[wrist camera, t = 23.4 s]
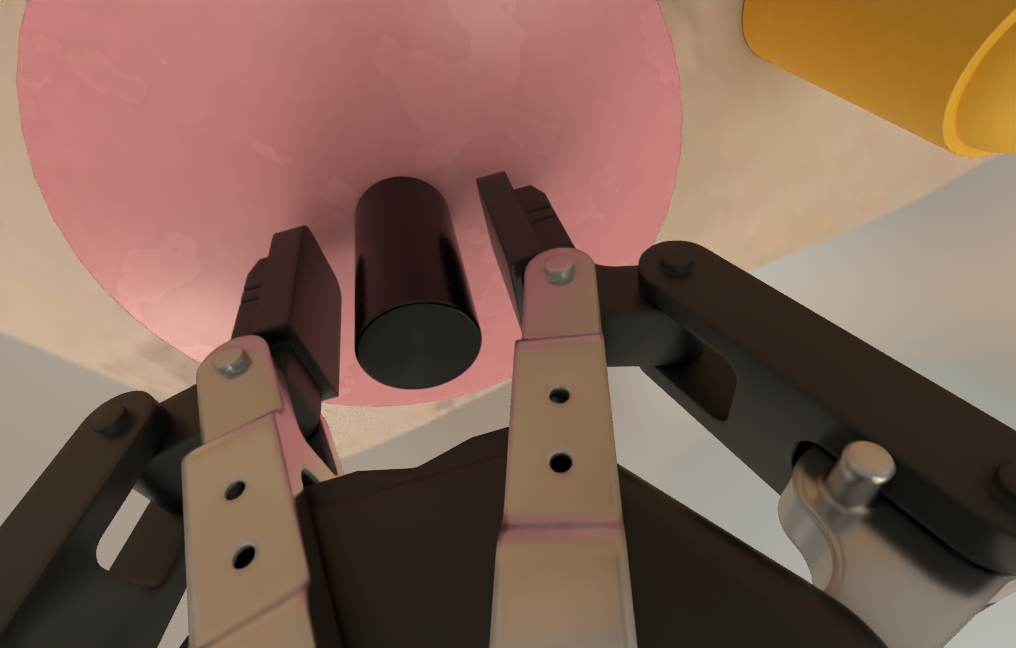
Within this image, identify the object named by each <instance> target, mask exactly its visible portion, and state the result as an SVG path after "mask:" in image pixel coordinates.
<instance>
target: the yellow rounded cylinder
mask: <svg viewBox="0 0 1016 648" xmlns="http://www.w3.org/2000/svg"><path fill="white" fill-rule="evenodd" d="M742 24H743V32H744V36H745V39H746V42H747V44H748V46H749V47H750V49H751V50H752V51H753V52H754V53H755V54H756V55H758V56H759V57H761V58H763V59H765V60H767V61H769V62H771V63H773V64H775V65H777V66H779V67H781V68H783V69H785V70H787V71H789V72H791V73H793V74H795V75H797V76H799V77H801V78H803V79H805V80H807V81H809V82H811V83H813V84H815V85H817V86H819V87H821V88H823V89H825V90H827V91H829V92H831V93H833V94H835V95H837V96H839V97H841V98H843V99H845V100H847V101H849V102H851V103H853V104H855V105H857V106H859V107H861V108H863V109H865V110H867V111H869V112H871V113H873V114H875V115H877V116H879V117H881V118H883V119H885V120H887V121H889V122H891V123H893V124H895V125H897V126H899V127H901V128H903V129H905V130H907V131H909V132H911V133H913V134H915V135H917V136H919V137H921V138H923V139H925V140H927V141H929V142H931V143H933V144H935V145H937V146H939V147H941V148H943V149H945V150H947V151H949V152H951V153H953V154H956V155H958V156H961V157H968V158H973V157H983V156H988V155H992V154H995V153H997V154H1016V0H745V3H744V8H743V18H742Z"/></svg>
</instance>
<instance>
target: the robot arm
mask: <svg viewBox="0 0 1016 648" xmlns="http://www.w3.org/2000/svg"><path fill="white" fill-rule="evenodd" d="M476 184H477V188H478V192H479V196H480V201H481V205H482V209H483V213H484V217H485V221H486V225H487V229H488V233H489V237H490V241H491V245H492V248H493V251H494V254H495V257H496V260H497V263H498V266H499V269H500V272H501V275H502V277H503V280H504V283H505V286H506V289H507V292H508V295H509V297H510V300H511V303H512V306H513V309H514V312H515V315H516V317H517V320H518V323H519V326H520V329H521V332H522V337H521V339H517V340H516V341H515V346H514V358H513V374H512V391H511V392H512V393H511V406H510V423H509V427H506V428H503V429H499V430H496V431H493V432H489V433H486V434H482V435H479V436H476V437H472V438H470V439H468V440H466V441H465V442H463V443H461V444H459V445H457V446H456V447H454V448H452V449H450V450H449V451H446V452H445V453H443V454H441V455H439V456H437V457H436V458H434V459H432V460H430V461H428V462H426V463H425V464H423V465H421V466H419V467H415V468H408V469H389V470H371V471H356V472H353V473H350V474H346V475H344V472H343V469H342V466H341V463H340V460H339V456H338V453H337V450H336V447H335V444H334V441H333V438H332V435H331V432H330V429H329V426H328V423H327V421H326V420H325V418H324V417H323V416H322V414H321V401H324V400H328V399H331V398H335V397H338V396H339V375H340V342H341V309H342V295H341V290H340V286H339V283H338V280H337V278H336V276H335V274H334V272H333V270H332V268H331V266H330V264H329V263H328V261H327V259H326V257H325V255H324V253H323V252H322V250H321V248H320V246H319V244H318V242H317V240H316V239H315V237H314V235H313V233H312V232H311V230H310V229H309V228H308V227H307V226H306V225H303V226H299V227H296V228H292V229H288V230H285V231H281V232H277V233H274V234H273V237H272V241H271V246H270V250H269V255H268V257H266V258H262V259H259V260H258V262H257V263H256V264H255V265H254V267H253V268H252V269H251V271H250V272H249V273H248V274H247V278H246V282H245V286H244V289H243V290H244V292H243V293H242V297H241V301H240V302H241V305H239V309H238V313H237V317H236V320H235V324H234V328H233V332H232V336H231V340H229V341H227V342H225V343H223V344H222V345H220V346H219V347H217V348H216V349H214V350H213V351H212V352H211V353H210V354H209V355H208V356H207V357H206V358H205V359H204V360H203V362H202V363H201V364H200V366H199V368H198V371H197V374H196V383H197V384H195V385H193V386H192V387H190V388H188V389H186V390H184V391H182V392H180V393H178V394H176V395H174V396H172V397H171V398H169V399H167V400H165V401H163V402H161V403H159V402H158V401H157V400H155V399H154V398H153V397H152V396H151V395H150V394H148V393H147V392H144V391H131V392H127V393H124V394H121V395H118V396H116V397H114V398H112V399H110V400H109V401H107V402H105V403H104V404H102V405H101V406H99V407H98V408H97V409H96V410H94V411H93V412H92V413H91V414H90V415H89V416H88V417H87V418H86V419H85V420H84V421H83V422H82V424H81V425H80V426H79V427H78V429H77V430H76V431H75V432H74V434H73V435H72V436H71V438H70V439H69V440H68V442H67V443H66V444H65V445H64V447H63V448H62V449H61V450H60V452H59V453H58V454H57V455H56V457H55V458H54V459H53V461H52V462H51V463H50V464H49V466H48V467H47V468H46V469H45V471H44V472H43V473H42V474H41V476H40V477H39V478H38V480H37V481H36V482H35V483H34V485H33V486H32V487H31V488H30V490H29V491H28V492H27V493H26V495H25V496H24V497H23V499H22V500H21V501H20V502H19V504H18V505H17V506H16V507H15V509H14V510H13V511H12V512H11V514H10V515H9V516H8V518H7V519H6V520H5V521H4V523H3V524H2V525H1V527H0V648H157V647H158V645H159V643H160V641H161V639H162V636H163V634H164V632H165V630H166V628H167V626H168V624H169V622H170V620H171V618H172V616H173V614H174V612H175V610H176V608H177V606H178V604H179V602H180V600H181V598H182V596H183V594H184V592H185V589H186V587H187V605H188V628H189V635H188V636H187V638H186V639H185V640H184V642H183V643H182V645H181V646H180V647H179V648H943V647H944V646H945V645H946V644H947V643H948V642H949V641H950V640H951V639H952V638H953V637H954V636H955V635H956V634H957V633H958V632H959V631H960V630H961V629H962V628H963V627H964V626H965V625H966V624H967V623H968V621H970V620H971V619H972V618H973V617H974V616H975V615H976V614H977V613H979V612H981V611H983V610H984V609H986V608H987V607H989V606H991V605H993V604H994V603H996V602H998V601H999V600H1001V599H1003V598H1004V597H1006V596H1008V595H1010V594H1011V593H1013V592H1015V591H1016V431H1015V430H1014V429H1012V428H1010V427H1008V426H1007V425H1005V424H1003V423H1002V422H1000V421H998V420H997V419H995V418H993V417H991V416H990V415H988V414H986V413H985V412H983V411H981V410H980V409H978V408H976V407H975V406H973V405H971V404H969V403H968V402H966V401H964V400H963V399H961V398H959V397H957V396H956V395H954V394H952V393H951V392H949V391H947V390H946V389H944V388H942V387H941V386H939V385H937V384H935V383H934V382H932V381H930V380H929V379H927V378H925V377H923V376H922V375H920V374H918V373H917V372H915V371H913V370H912V369H910V368H908V367H906V366H905V365H903V364H902V363H900V362H898V361H896V360H895V359H893V358H891V357H890V356H888V355H886V354H884V353H883V352H881V351H879V350H878V349H876V348H874V347H873V346H871V345H869V344H867V343H866V342H864V341H862V340H861V339H859V338H857V337H856V336H854V335H852V334H851V333H849V332H847V331H845V330H844V329H842V328H840V327H839V326H837V325H835V324H834V323H832V322H830V321H828V320H827V319H825V318H823V317H822V316H820V315H818V314H816V313H815V312H813V311H811V310H810V309H808V308H806V307H805V306H803V305H801V304H799V303H798V302H796V301H794V300H793V299H791V298H789V297H788V296H786V295H784V294H783V293H781V292H779V291H777V290H776V289H774V288H772V287H771V286H769V285H767V284H766V283H764V282H762V281H760V280H759V279H757V278H755V277H754V276H752V275H750V274H749V273H747V272H745V271H744V270H742V269H740V268H738V267H737V266H735V265H733V264H732V263H730V262H728V261H727V260H725V259H723V258H721V257H720V256H718V255H716V254H715V253H713V252H711V251H710V250H708V249H706V248H704V247H702V246H700V245H698V244H695V243H692V242H687V241H666V242H661V243H658V244H655V245H653V246H651V247H650V248H648V249H647V250H645V251H644V252H643V253H642V255H641V256H640V259H639V263H638V265H633V266H603V265H598V264H595V263H594V261H593V259H592V258H591V257H590V256H589V255H588V254H587V253H585V252H583V251H581V250H578V249H576V248H575V246H574V244H573V243H572V241H571V239H570V237H569V235H568V234H567V232H566V230H565V228H564V227H563V225H562V223H561V221H560V219H559V218H558V217H557V214H556V212H555V211H554V209H553V207H552V206H551V203H550V202H549V200H548V198H547V196H546V195H545V193H544V192H542V191H540V190H539V189H537V188H535V187H533V186H532V185H528V186H524V187H521V188H517V189H513V187H512V185H511V183H510V181H509V179H508V176H507V174H506V172H505V171H501V172H498V173H494V174H490V175H487V176H483V177H479V178H476ZM617 366H639V367H640V368H641V370H642V371H643V372H644V373H645V374H646V375H647V376H649V377H650V378H651V379H652V380H653V381H654V382H655V383H656V384H657V385H658V386H660V387H661V388H662V389H663V390H664V391H665V392H666V393H667V394H668V395H669V396H671V397H672V398H673V399H674V400H675V401H676V402H677V403H678V404H680V405H681V406H682V407H683V408H684V409H685V410H686V411H687V412H688V413H689V414H691V415H692V416H693V417H694V418H695V419H696V420H697V421H698V422H700V423H701V424H702V425H703V426H704V427H705V428H706V429H707V430H708V431H709V432H711V433H712V434H713V435H714V436H715V437H716V438H717V439H718V440H719V441H720V442H722V443H723V444H724V445H725V446H726V447H727V448H728V449H729V450H731V452H733V453H734V454H735V455H736V456H737V457H738V458H739V459H741V460H742V461H743V462H744V463H745V464H746V465H747V466H748V467H749V468H750V469H751V470H753V471H754V472H755V473H756V474H757V475H758V476H759V477H760V478H761V479H763V480H764V481H765V482H766V483H767V484H768V485H769V486H770V487H771V488H773V489H774V490H775V491H776V492H777V493H778V494H779V495H780V496H781V497H780V500H779V503H778V516H779V520H780V523H781V525H782V528H783V530H784V532H785V533H786V535H787V536H788V538H789V539H790V540H791V541H792V543H793V544H794V545H795V546H796V547H797V549H798V550H799V551H800V552H801V554H802V556H803V557H804V559H805V560H806V562H807V565H808V567H809V569H810V572H811V576H812V582H813V584H811V583H809V582H808V581H806V580H804V579H803V578H801V577H800V576H798V575H796V574H795V573H793V572H792V571H790V570H788V569H787V568H785V567H783V566H782V565H780V564H779V563H777V562H775V561H774V560H772V559H770V558H769V557H767V556H766V555H764V554H762V553H761V552H759V551H758V550H756V549H754V548H753V547H751V546H750V545H748V544H746V543H745V542H743V541H742V540H740V539H738V538H737V537H735V536H733V535H732V534H730V533H729V532H727V531H725V530H724V529H722V528H721V527H719V526H717V525H716V524H714V523H713V522H711V521H709V520H708V519H706V518H704V517H703V516H701V515H699V514H698V513H696V512H695V511H693V510H691V509H690V508H688V507H687V506H685V505H684V504H682V503H680V502H679V501H677V500H675V499H674V498H672V497H671V496H669V495H667V494H666V493H664V492H663V491H661V490H659V489H658V488H656V487H654V486H653V485H651V484H650V483H648V482H646V481H645V480H643V479H641V478H640V477H638V476H637V475H635V474H634V473H632V472H630V471H629V470H627V469H625V468H624V467H622V466H621V465H619V464H617V459H616V449H615V440H614V431H613V421H612V411H611V403H610V393H609V384H608V374H607V367H617ZM132 488H133V489H134V490H136V491H137V492H139V493H140V494H142V495H143V496H145V497H146V498H148V499H149V500H151V501H150V503H149V505H148V506H147V508H146V510H145V511H144V513H143V515H142V516H141V518H140V520H139V521H138V523H137V525H136V526H135V528H134V530H133V531H132V533H131V535H130V536H129V538H128V540H127V541H126V543H125V545H124V546H123V548H122V550H121V551H120V553H119V555H118V556H117V558H116V560H115V561H114V563H113V565H112V566H111V568H110V570H109V571H108V570H105V569H104V568H102V567H101V566H100V565H99V564H98V562H97V558H96V549H97V545H98V543H99V540H100V538H101V537H102V535H103V534H104V532H105V531H106V529H107V527H108V526H109V524H110V523H111V521H112V520H113V518H114V516H115V515H116V513H117V512H118V510H119V509H120V507H121V505H122V504H123V502H124V501H125V499H126V498H127V496H128V494H129V493H130V491H131V490H132Z"/></svg>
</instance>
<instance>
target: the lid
mask: <svg viewBox="0 0 1016 648" xmlns="http://www.w3.org/2000/svg"><path fill="white" fill-rule="evenodd" d="M16 82H17V91H18V100H19V110H20V119H21V128H22V134H23V137H24V141H25V144H26V148H27V151H28V155H29V159H30V162H31V166H32V169H33V173H34V177H35V179H36V181H37V184H38V186H39V188H40V190H41V193H42V195H43V197H44V199H45V201H46V204H47V206H48V208H49V210H50V213H51V215H52V217H53V219H54V221H55V222H56V224H57V226H58V227H59V229H60V230H61V232H62V234H63V235H64V237H65V238H66V240H67V242H68V243H69V245H70V246H71V248H72V250H73V251H74V253H75V254H76V256H77V257H78V258H79V260H80V261H81V262H82V263H83V265H84V266H85V267H86V268H87V269H88V271H89V272H90V273H91V274H92V276H93V277H94V278H95V279H96V280H97V282H98V283H99V284H100V285H101V287H102V288H103V289H104V290H105V291H106V292H107V293H108V294H109V295H110V296H111V297H112V298H113V299H114V300H115V301H116V302H117V303H119V304H120V305H121V306H122V307H123V308H124V309H125V310H126V311H127V312H128V313H129V314H130V315H131V316H132V317H133V318H135V319H136V320H137V321H138V322H140V323H141V324H142V325H144V326H145V327H146V328H147V329H149V330H150V331H151V332H153V333H154V334H155V335H156V336H158V337H159V338H160V339H162V340H163V341H165V342H166V343H168V344H169V345H171V346H173V347H174V348H176V349H177V350H179V351H181V352H182V353H184V354H185V355H187V356H189V357H190V358H192V359H193V360H195V361H197V362H199V363H202V362H203V360H204V359H205V358H206V357H207V356H208V355H209V354H210V353H211V352H212V351H213V350H214V349H216V348H217V347H219V346H220V345H222V344H223V343H225V342H227V341H229V340H231V336H232V332H233V328H234V324H235V320H236V317H237V313H238V309H239V305H241V302H240V301H241V297H242V293H243V292H244V290H243V289H244V286H245V282H246V278H247V274H248V273H249V272H250V271H251V269H252V268H253V267H254V265H255V264H256V263H257V262H258V260H259V259H262V258H266V257H268V255H269V250H270V246H271V241H272V237H273V234H274V233H277V232H281V231H285V230H288V229H292V228H296V227H299V226H303V225H306V226H307V227H308V228H309V229H310V230H311V232H312V233H313V235H314V237H315V239H316V240H317V242H318V244H319V246H320V248H321V250H322V252H323V253H324V255H325V257H326V259H327V261H328V263H329V264H330V266H331V268H332V270H333V272H334V274H335V276H336V278H337V280H338V283H339V286H340V290H341V295H342V309H341V342H340V375H339V396H338V397H335V398H331V399H328V400H324V401H321V403H328V404H337V405H346V406H374V407H380V406H399V405H411V404H418V403H426V402H433V401H438V400H443V399H447V398H452V397H456V396H461V395H464V394H468V393H471V392H474V391H477V390H481V389H484V388H487V387H490V386H492V385H495V384H497V383H500V382H502V381H505V380H507V379H510V378H512V374H513V358H514V346H515V341H516V340H517V339H521V337H522V332H521V329H520V326H519V323H518V320H517V317H516V315H515V312H514V309H513V306H512V303H511V300H510V297H509V295H508V292H507V289H506V286H505V283H504V280H503V277H502V275H501V272H500V269H499V266H498V263H497V260H496V257H495V254H494V251H493V248H492V245H491V241H490V237H489V233H488V229H487V225H486V221H485V217H484V213H483V209H482V205H481V201H480V196H479V192H478V188H477V184H476V178H479V177H483V176H487V175H490V174H494V173H498V172H501V171H505V172H506V174H507V176H508V179H509V181H510V183H511V185H512V187H513V189H517V188H521V187H524V186H528V185H532V186H533V187H535V188H537V189H539V190H540V191H542V192H544V193H545V195H546V196H547V198H548V200H549V202H550V203H551V206H552V207H553V209H554V211H555V212H556V214H557V217H558V218H559V219H560V221H561V223H562V225H563V227H564V228H565V230H566V232H567V234H568V235H569V237H570V239H571V241H572V243H573V244H574V246H575V248H576V249H578V250H581V251H583V252H585V253H587V254H588V255H589V256H590V257H591V258H592V259H593V261H594V263H595V264H598V265H603V266H633V265H638V263H639V259H640V256H641V255H642V253H643V252H644V251H645V250H647V249H648V248H650V247H651V246H653V244H654V241H655V239H656V237H657V235H658V232H659V230H660V228H661V226H662V223H663V221H664V219H665V216H666V213H667V210H668V206H669V203H670V200H671V197H672V193H673V190H674V187H675V182H676V176H677V171H678V165H679V160H680V154H681V138H682V119H683V116H682V103H681V90H680V78H679V73H678V68H677V64H676V59H675V55H674V50H673V45H672V41H671V36H670V34H669V31H668V28H667V26H666V23H665V20H664V17H663V15H662V12H661V9H660V7H659V4H658V1H657V0H28V1H27V4H26V8H25V12H24V15H23V19H22V23H21V26H20V36H19V50H18V64H17V78H16Z"/></svg>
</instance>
